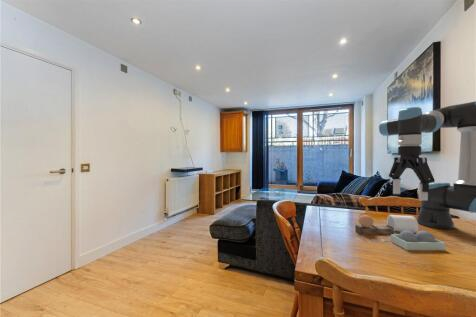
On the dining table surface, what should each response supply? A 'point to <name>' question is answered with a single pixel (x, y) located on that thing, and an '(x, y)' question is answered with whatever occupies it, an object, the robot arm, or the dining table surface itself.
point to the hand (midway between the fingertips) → (408, 196)
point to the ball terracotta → (366, 221)
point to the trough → (417, 244)
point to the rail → (374, 229)
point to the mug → (402, 223)
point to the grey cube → (408, 236)
